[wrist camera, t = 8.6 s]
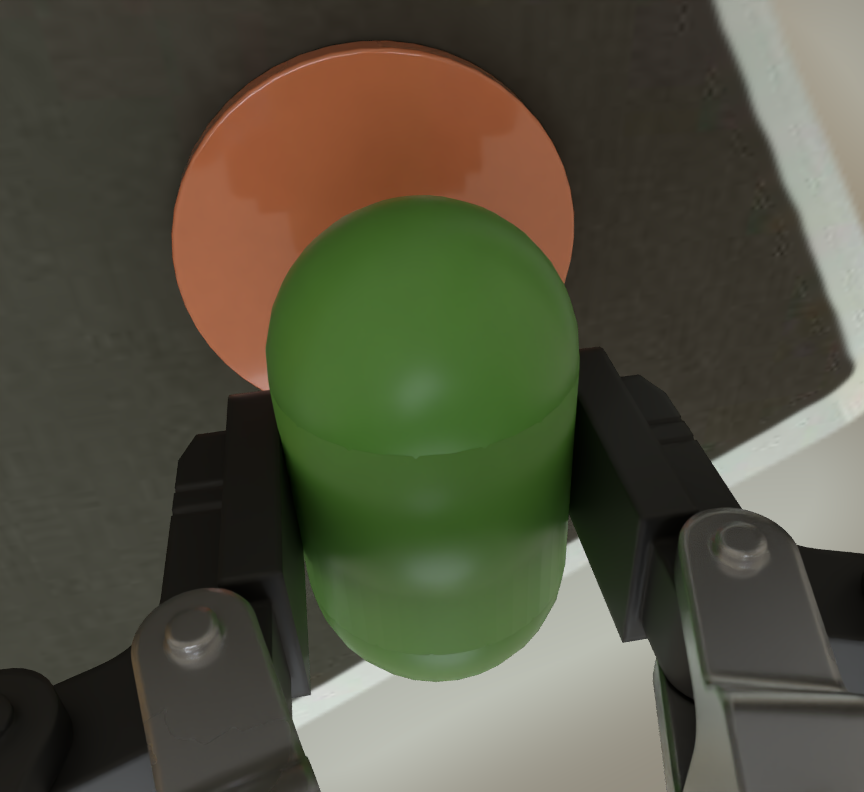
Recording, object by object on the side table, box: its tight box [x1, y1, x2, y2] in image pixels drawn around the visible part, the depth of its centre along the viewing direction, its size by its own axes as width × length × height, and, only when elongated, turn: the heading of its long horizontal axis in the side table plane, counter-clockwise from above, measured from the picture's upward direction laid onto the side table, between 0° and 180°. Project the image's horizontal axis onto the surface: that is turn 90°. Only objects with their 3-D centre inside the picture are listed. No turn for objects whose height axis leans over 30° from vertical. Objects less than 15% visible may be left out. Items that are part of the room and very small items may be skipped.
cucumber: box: [265, 195, 580, 682], centre depth 12 cm, size 8×4×4 cm, turn 3°
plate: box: [171, 41, 574, 391], centre depth 17 cm, size 8×8×1 cm
